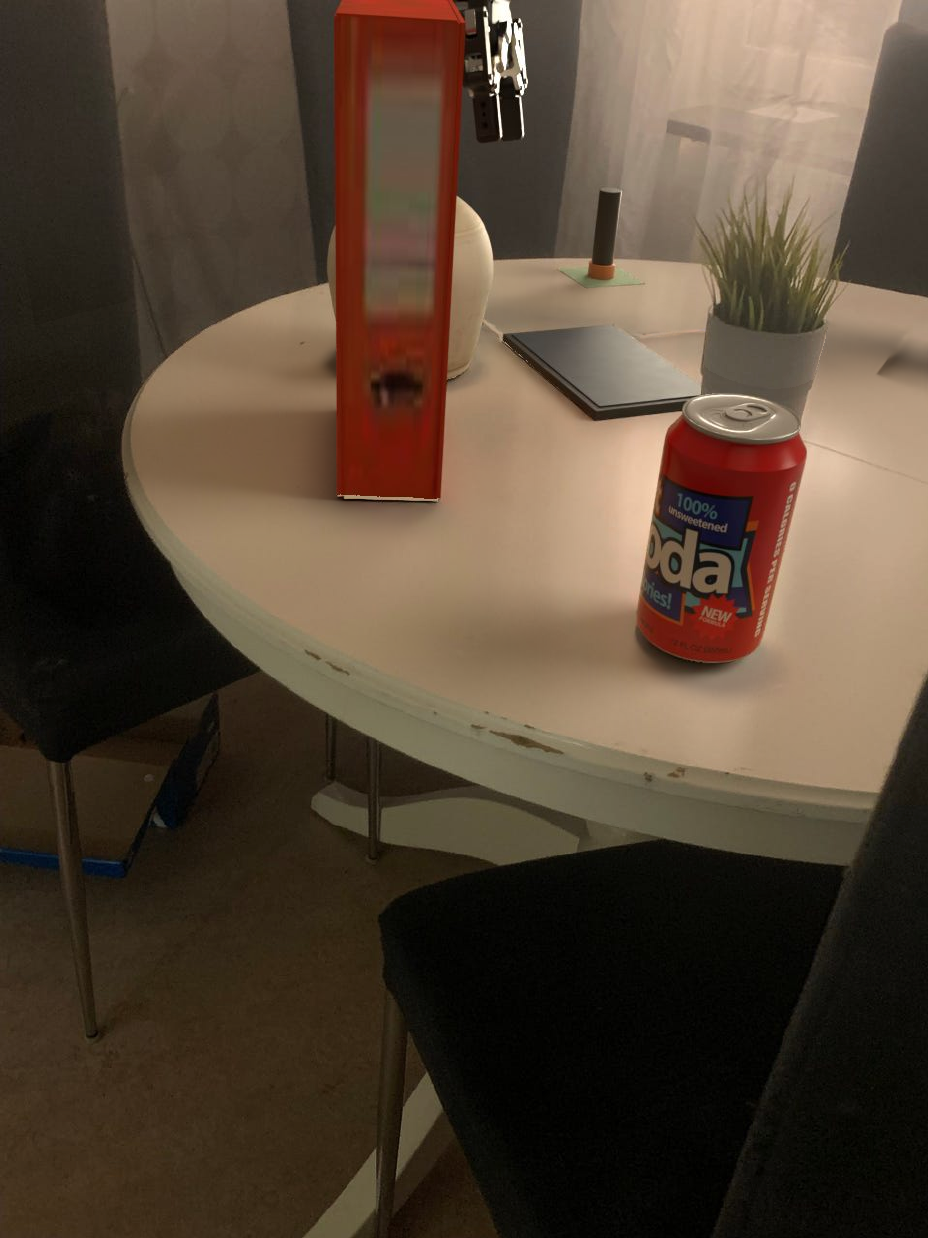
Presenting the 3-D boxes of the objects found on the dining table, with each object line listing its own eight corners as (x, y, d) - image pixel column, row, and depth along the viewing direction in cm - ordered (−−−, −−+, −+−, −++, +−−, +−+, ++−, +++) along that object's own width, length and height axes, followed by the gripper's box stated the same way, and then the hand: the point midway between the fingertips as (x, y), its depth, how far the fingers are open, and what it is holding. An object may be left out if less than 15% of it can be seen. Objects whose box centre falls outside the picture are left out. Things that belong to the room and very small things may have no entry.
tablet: (613, 332, 116) (614, 323, 116) (719, 405, 100) (721, 395, 100) (502, 341, 112) (502, 332, 111) (594, 420, 96) (596, 410, 95)
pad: (613, 269, 136) (614, 264, 136) (644, 288, 130) (645, 283, 130) (556, 273, 134) (557, 268, 133) (585, 292, 128) (586, 287, 127)
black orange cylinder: (606, 271, 133) (616, 186, 128) (618, 278, 131) (629, 192, 125) (583, 272, 132) (592, 187, 127) (595, 280, 130) (605, 193, 124)
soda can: (786, 649, 67) (844, 424, 59) (697, 689, 63) (746, 454, 55) (695, 591, 72) (737, 377, 64) (608, 625, 68) (640, 402, 60)
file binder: (436, 411, 96) (452, -3, 78) (444, 502, 81) (466, 19, 64) (345, 409, 95) (340, -9, 77) (337, 500, 81) (328, 12, 63)
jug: (435, 406, 97) (447, 100, 83) (296, 368, 103) (285, 77, 89) (514, 358, 108) (535, 81, 94) (385, 326, 114) (387, 62, 100)
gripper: (504, -83, 86) (523, 138, 93) (542, -58, 99) (556, 135, 105) (416, -66, 89) (440, 148, 95) (464, -44, 101) (483, 144, 107)
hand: (501, 141), depth 100 cm, fingers open, 8 cm apart
